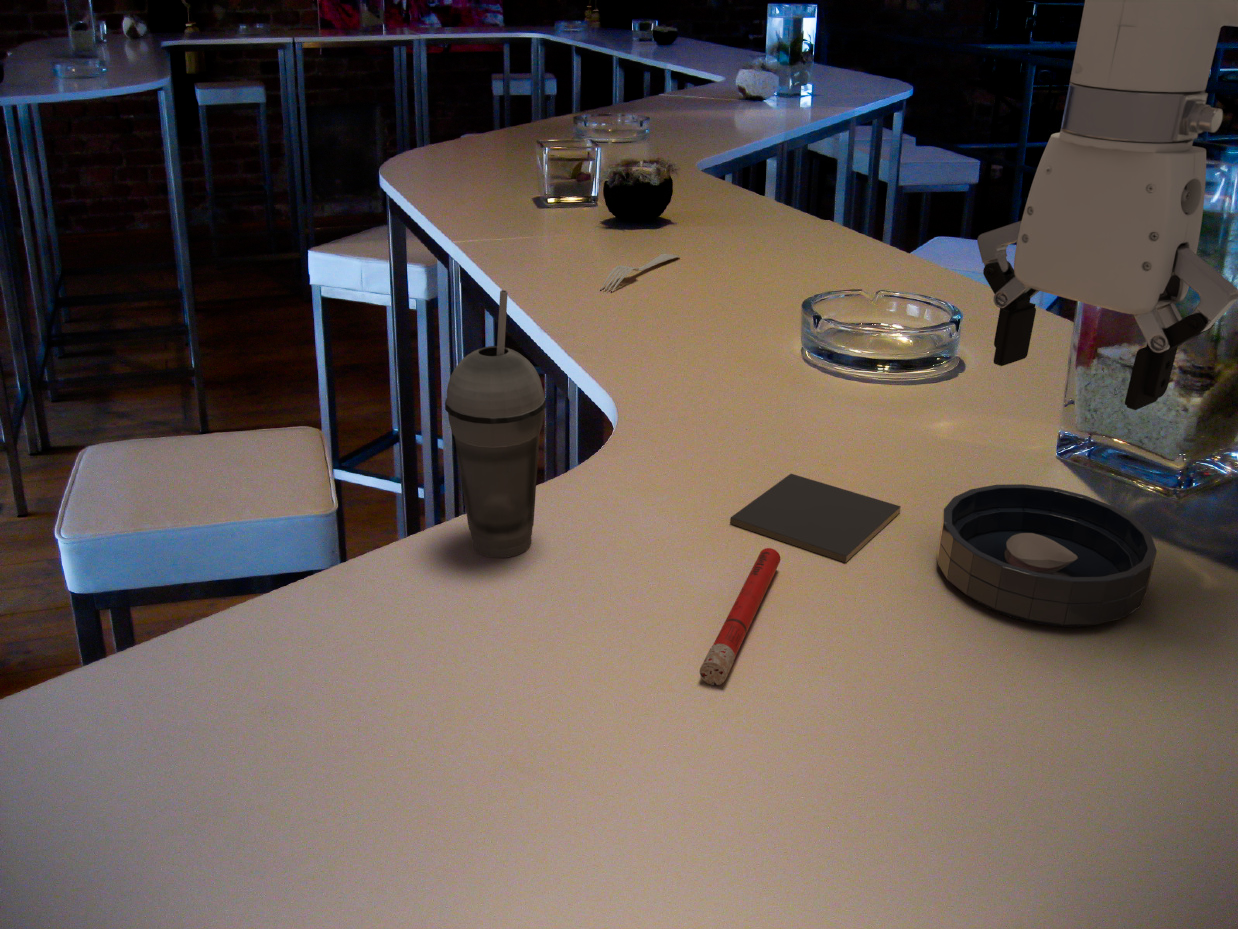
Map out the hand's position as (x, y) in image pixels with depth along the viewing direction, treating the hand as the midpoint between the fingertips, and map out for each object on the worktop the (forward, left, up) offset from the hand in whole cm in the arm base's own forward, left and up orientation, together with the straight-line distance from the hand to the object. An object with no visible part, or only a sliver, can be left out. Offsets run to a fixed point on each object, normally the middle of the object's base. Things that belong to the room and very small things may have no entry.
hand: (1072, 381), depth 73 cm
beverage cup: (+28, -27, -15) cm, 42 cm away
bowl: (0, +1, -15) cm, 15 cm away
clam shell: (0, +1, -15) cm, 15 cm away
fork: (-29, -79, -15) cm, 86 cm away
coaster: (+6, -15, -15) cm, 22 cm away
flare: (+21, -8, -15) cm, 28 cm away
